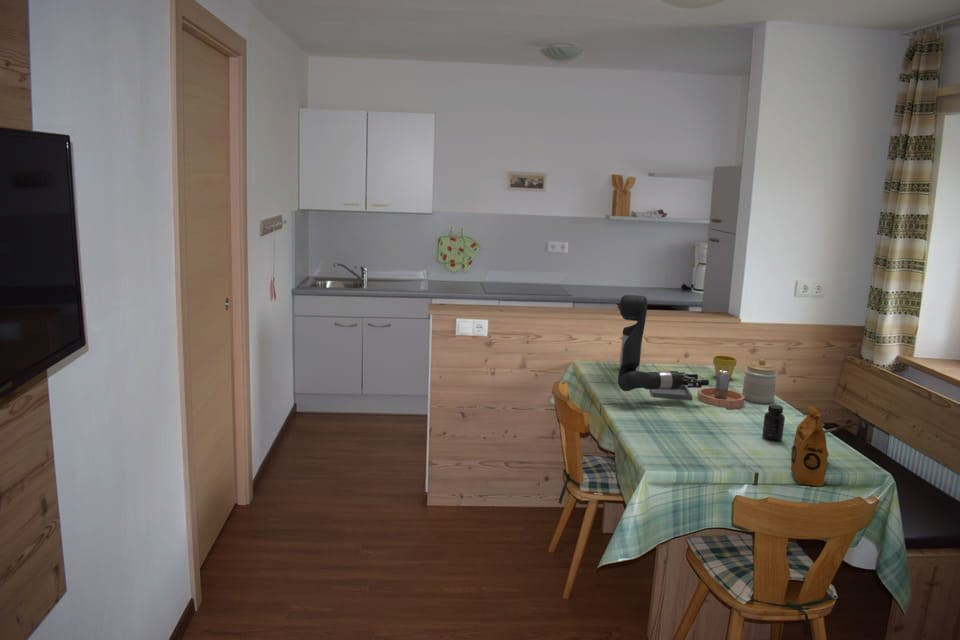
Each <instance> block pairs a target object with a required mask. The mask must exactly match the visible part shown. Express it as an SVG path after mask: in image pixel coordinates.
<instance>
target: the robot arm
mask: <svg viewBox="0 0 960 640" xmlns="http://www.w3.org/2000/svg"><path fill="white" fill-rule="evenodd" d="M618 308H619V313H620V315H621V317H622V318H623V320H626V321H635V322H636V323H635V324H632V325H628V326H625V327H624V328H623V329H622V337H621V347H620V351H619V352H620V353H619V355H620V356H619V363H618V370H619V372H618V377H617V384H618V387H619V389H620V390H622V391H624V392H630V391H633V390H635V389H645V390H649V391H650V390H652V389H659V390H677V389H679V388H680V387H681V385H683V386H687V387H688V389H690V388H691V389H693V388H694V389H696V388H698V389H702V388H703V386H710V380H709V379H699V375H698V374H697V373H693V374H692V373H686V372H685V371H684V372H679V371H678V370H663V371H662V370H660V371H647V372H646V371H642V370H640V366H641V357H642V347H643V345H642V344H643V337H644V336H643V335H644V331H645V325H646V320H647V312H648V298H647V297H646V296H644V295H634V294H631V295H630V294H626V295H623V296H622V297H621V298H620V301H619V307H618Z"/></svg>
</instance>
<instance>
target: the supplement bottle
mask: <svg viewBox="0 0 960 640" xmlns="http://www.w3.org/2000/svg"><path fill="white" fill-rule="evenodd" d="M767 408H768V409H767V412H765V414H764V416H763V424H762V425H763V426H762V434H761V435H762V438H763V440H764V439H765V440H766V441H770V442H781V441H782V440H783V436H784V429H785V428H784V427H785V419H786V417H785V415H784V414H783V413H784V407H783V406H782V405H779V404H769V405H768V407H767Z"/></svg>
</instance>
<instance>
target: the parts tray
mask: <svg viewBox="0 0 960 640" xmlns="http://www.w3.org/2000/svg"><path fill="white" fill-rule="evenodd" d="M649 391H650V394H651V397H652V398H665V399H674V400H686V401H687V400H689V401H693V394H692V393H691V391H690V388H688V387H687V386H683V385H681V387H680V388H679V389H677V390H659V389H652V390H650V389H649Z"/></svg>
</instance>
